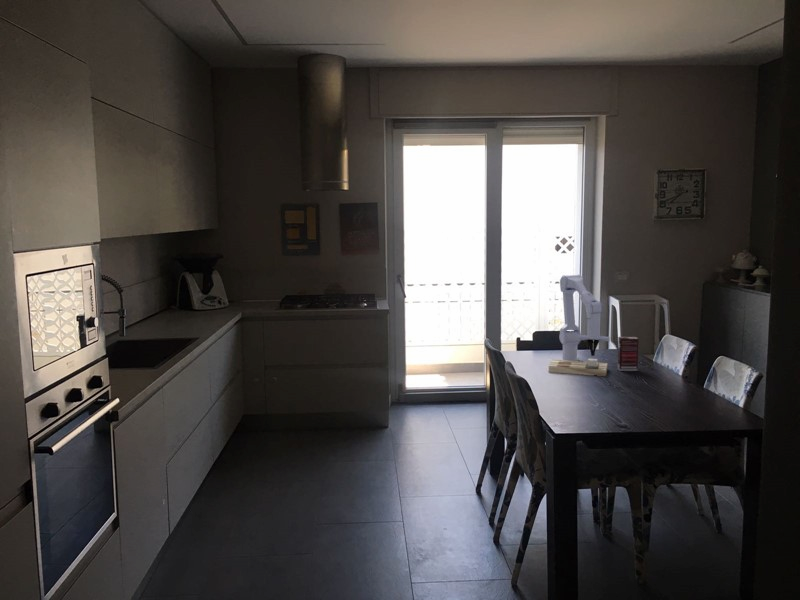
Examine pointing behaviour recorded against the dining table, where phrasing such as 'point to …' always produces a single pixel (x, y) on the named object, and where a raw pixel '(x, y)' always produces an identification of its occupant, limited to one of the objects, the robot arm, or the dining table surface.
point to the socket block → (577, 367)
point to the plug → (592, 362)
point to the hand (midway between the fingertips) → (592, 355)
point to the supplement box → (628, 353)
